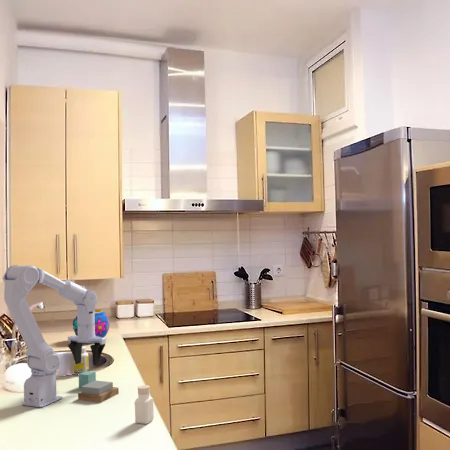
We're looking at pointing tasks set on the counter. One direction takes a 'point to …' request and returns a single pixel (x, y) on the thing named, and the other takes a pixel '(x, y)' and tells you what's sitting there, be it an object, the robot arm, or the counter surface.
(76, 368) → the supplement bottle
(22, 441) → the counter surface
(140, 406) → the white square bottle
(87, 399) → the walnut block
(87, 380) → the teal block
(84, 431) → the counter surface
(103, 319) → the ceramic pot
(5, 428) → the counter surface
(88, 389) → the slate-grey block
